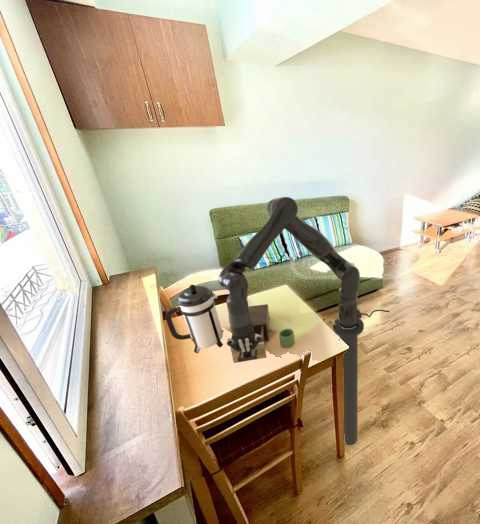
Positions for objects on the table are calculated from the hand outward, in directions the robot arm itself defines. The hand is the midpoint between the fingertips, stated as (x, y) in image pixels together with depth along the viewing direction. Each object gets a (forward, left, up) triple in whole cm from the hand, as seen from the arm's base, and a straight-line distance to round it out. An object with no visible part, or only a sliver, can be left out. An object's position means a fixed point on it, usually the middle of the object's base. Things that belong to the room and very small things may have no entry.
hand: (247, 357), depth 109 cm
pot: (-15, -11, -5) cm, 19 cm away
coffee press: (+20, -19, -4) cm, 28 cm away
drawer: (0, -8, -4) cm, 9 cm away
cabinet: (0, -23, -4) cm, 23 cm away
